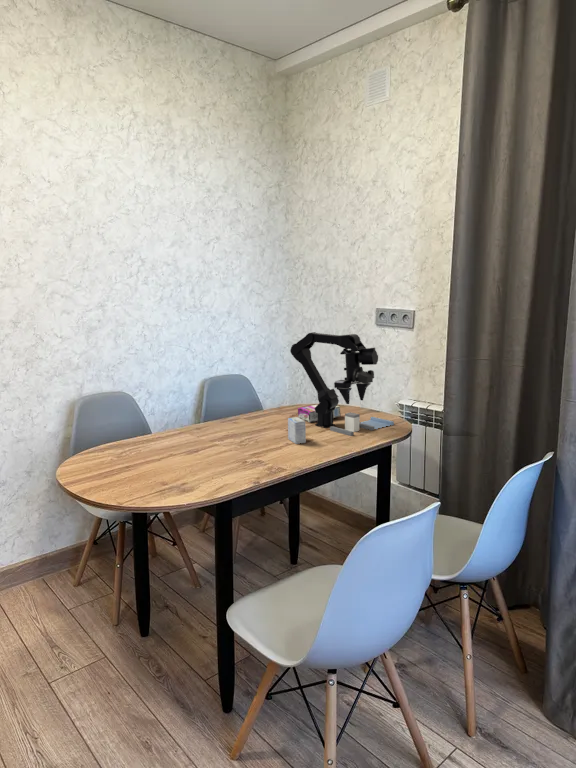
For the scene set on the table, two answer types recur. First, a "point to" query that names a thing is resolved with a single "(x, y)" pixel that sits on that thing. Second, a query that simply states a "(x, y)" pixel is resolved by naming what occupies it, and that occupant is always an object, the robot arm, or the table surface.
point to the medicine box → (296, 430)
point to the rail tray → (366, 425)
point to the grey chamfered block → (352, 421)
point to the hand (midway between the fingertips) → (354, 402)
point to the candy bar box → (314, 413)
